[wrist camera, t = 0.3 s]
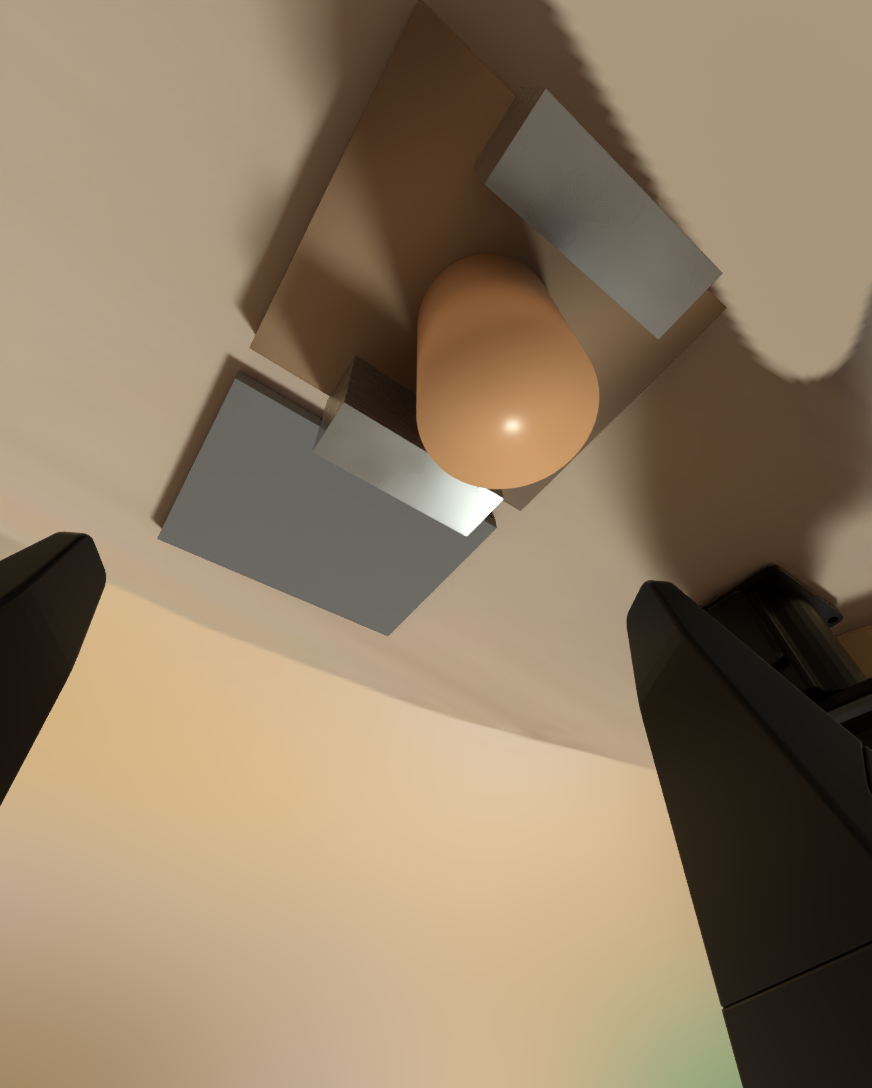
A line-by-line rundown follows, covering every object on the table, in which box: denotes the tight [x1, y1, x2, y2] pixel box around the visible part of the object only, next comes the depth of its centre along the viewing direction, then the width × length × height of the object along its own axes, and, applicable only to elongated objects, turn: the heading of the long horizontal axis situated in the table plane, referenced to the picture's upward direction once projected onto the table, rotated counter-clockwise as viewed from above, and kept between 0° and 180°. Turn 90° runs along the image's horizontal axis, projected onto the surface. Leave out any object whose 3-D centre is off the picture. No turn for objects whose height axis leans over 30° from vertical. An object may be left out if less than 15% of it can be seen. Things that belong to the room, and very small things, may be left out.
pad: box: [157, 372, 497, 636], centre depth 24 cm, size 12×9×1 cm
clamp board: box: [250, 0, 726, 511], centre depth 18 cm, size 12×10×1 cm
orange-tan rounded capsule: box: [416, 253, 599, 489], centre depth 15 cm, size 4×4×6 cm
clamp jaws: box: [312, 87, 722, 537], centre depth 16 cm, size 6×10×4 cm, turn 144°
